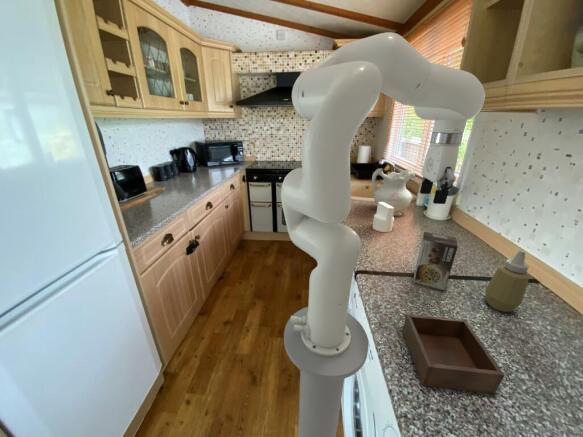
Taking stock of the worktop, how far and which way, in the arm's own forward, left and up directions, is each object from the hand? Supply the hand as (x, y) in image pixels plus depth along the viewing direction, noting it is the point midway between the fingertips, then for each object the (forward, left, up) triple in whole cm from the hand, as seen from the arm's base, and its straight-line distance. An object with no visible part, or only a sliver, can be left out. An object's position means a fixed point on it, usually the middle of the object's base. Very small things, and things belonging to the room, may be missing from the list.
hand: (431, 198), depth 74 cm
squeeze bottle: (+19, -13, -28) cm, 36 cm away
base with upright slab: (-3, +37, -28) cm, 46 cm away
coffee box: (+3, -4, -28) cm, 28 cm away
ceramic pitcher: (+5, +60, -28) cm, 66 cm away
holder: (-5, -33, -27) cm, 43 cm away
